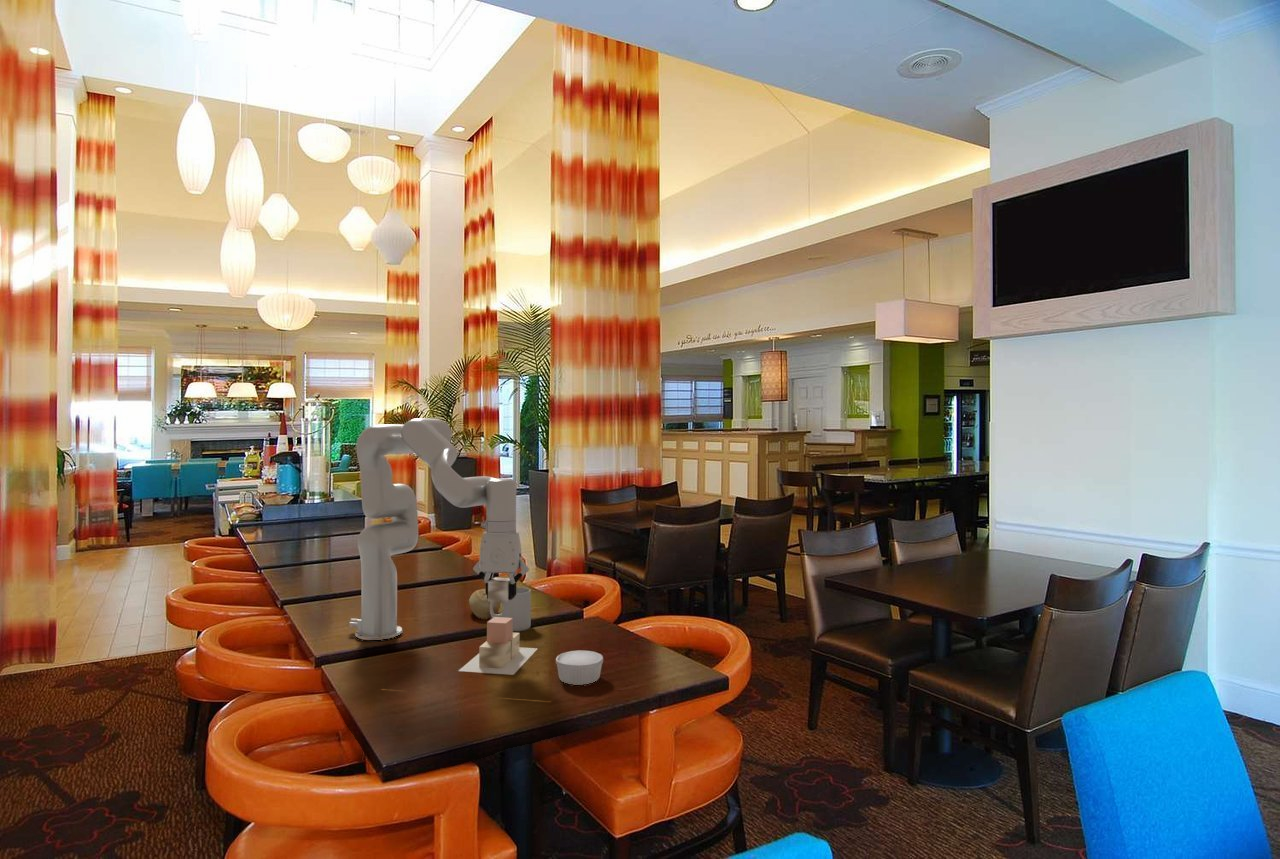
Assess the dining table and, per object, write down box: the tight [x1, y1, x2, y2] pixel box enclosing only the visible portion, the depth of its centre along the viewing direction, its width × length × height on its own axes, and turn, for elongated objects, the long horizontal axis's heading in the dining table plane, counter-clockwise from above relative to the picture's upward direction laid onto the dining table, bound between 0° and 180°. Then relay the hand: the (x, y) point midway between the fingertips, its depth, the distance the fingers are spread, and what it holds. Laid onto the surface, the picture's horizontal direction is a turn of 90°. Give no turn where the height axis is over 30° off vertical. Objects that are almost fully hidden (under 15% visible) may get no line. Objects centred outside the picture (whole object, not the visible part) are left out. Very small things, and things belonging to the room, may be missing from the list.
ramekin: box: [555, 649, 604, 686], centre depth 167 cm, size 11×11×5 cm
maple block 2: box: [509, 631, 521, 659], centre depth 183 cm, size 6×6×5 cm
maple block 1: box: [478, 640, 511, 669], centre depth 176 cm, size 6×6×5 cm
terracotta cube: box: [486, 617, 514, 643], centre depth 180 cm, size 5×5×5 cm
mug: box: [490, 586, 532, 632], centre depth 208 cm, size 12×8×11 cm
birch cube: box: [488, 577, 510, 603], centre depth 179 cm, size 5×5×5 cm
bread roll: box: [468, 588, 502, 620], centre depth 223 cm, size 10×15×8 cm, turn 23°
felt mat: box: [458, 646, 539, 676], centre depth 180 cm, size 14×20×1 cm
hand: (501, 597), depth 179 cm, fingers closed on birch cube, 4 cm apart
